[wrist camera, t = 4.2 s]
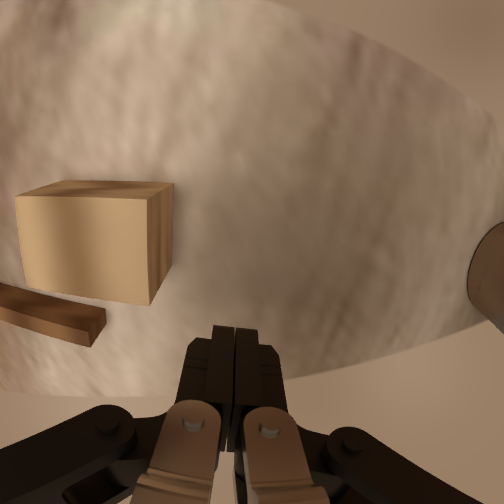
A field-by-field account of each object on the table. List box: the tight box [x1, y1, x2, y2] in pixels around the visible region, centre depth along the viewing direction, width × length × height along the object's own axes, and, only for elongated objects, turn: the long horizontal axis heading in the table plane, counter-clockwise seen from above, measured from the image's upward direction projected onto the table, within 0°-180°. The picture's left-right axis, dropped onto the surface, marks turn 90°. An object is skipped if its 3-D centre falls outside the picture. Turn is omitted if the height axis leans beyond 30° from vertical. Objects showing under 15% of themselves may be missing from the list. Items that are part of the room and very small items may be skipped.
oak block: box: [15, 181, 173, 306], centre depth 18 cm, size 9×6×6 cm, turn 85°
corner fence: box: [0, 283, 106, 348], centre depth 19 cm, size 15×18×4 cm
